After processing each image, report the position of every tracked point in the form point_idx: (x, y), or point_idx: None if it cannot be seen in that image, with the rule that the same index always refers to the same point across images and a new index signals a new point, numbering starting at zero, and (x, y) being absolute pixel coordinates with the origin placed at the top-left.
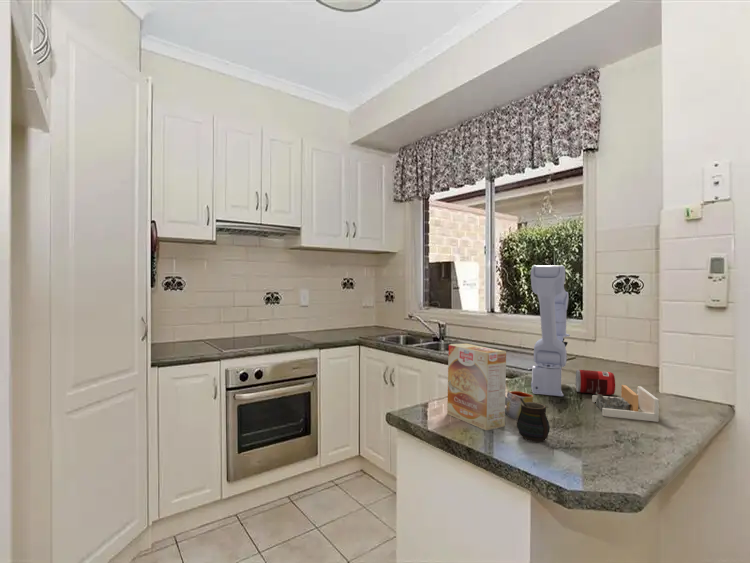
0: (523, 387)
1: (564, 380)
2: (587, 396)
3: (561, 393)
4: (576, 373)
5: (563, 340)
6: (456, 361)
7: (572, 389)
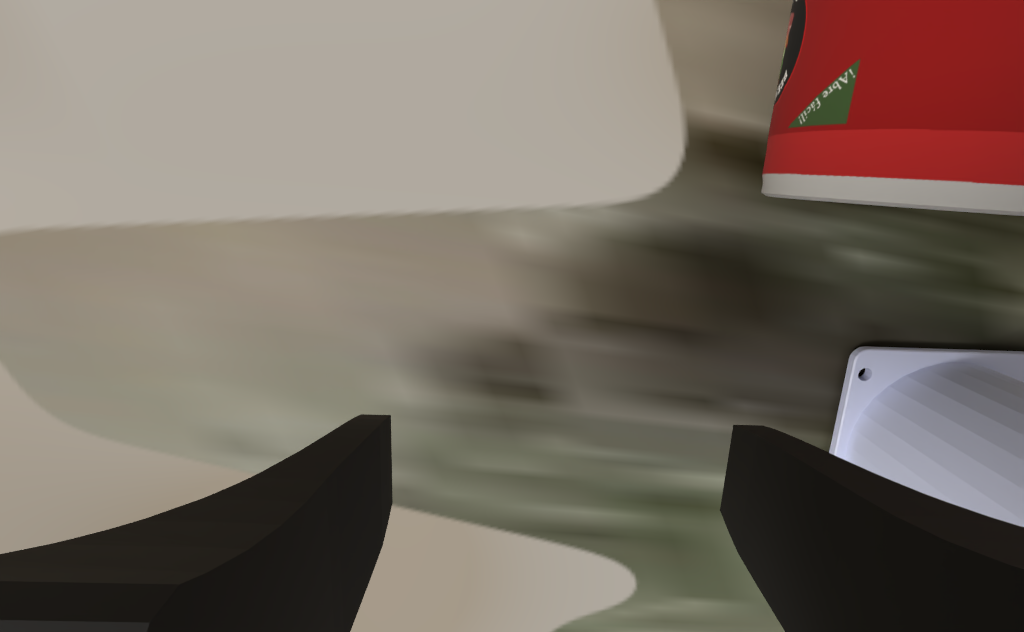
0: None
1: (337, 231)
2: None
3: (1004, 364)
4: (860, 199)
5: (212, 591)
6: None
7: (743, 223)
